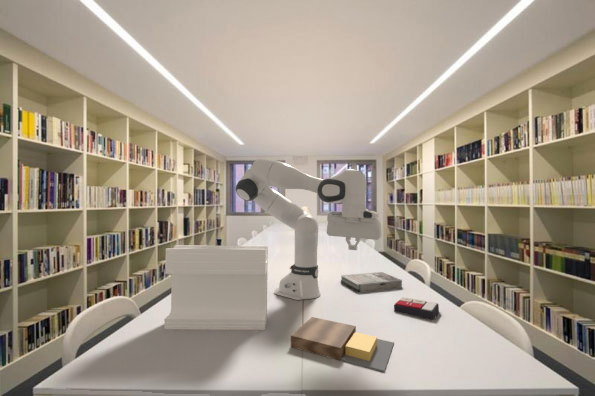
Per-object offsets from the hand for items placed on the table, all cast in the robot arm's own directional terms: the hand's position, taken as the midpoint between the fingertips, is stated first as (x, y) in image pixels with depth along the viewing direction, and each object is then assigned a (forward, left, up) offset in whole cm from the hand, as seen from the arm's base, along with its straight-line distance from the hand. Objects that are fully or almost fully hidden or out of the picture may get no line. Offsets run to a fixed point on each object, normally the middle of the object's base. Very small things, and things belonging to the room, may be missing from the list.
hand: (352, 249), depth 105 cm
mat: (+10, -18, -27) cm, 34 cm away
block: (-43, -24, -27) cm, 57 cm away
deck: (-4, -18, -27) cm, 33 cm away
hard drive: (-4, +52, -28) cm, 59 cm away
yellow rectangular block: (+8, -18, -27) cm, 33 cm away
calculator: (+20, +23, -28) cm, 42 cm away
